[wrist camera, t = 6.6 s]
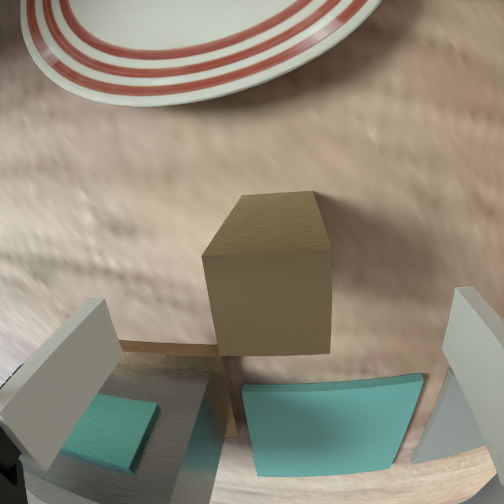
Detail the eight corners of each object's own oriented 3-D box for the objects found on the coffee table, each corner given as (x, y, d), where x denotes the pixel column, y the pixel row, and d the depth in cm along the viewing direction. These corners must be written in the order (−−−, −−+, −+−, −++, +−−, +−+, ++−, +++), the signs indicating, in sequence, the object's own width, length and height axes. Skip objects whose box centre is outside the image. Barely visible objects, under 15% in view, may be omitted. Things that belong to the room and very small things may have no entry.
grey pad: (410, 458, 30) (412, 464, 29) (448, 368, 24) (452, 375, 23) (508, 431, 27) (511, 435, 27) (556, 340, 22) (560, 345, 21)
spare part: (249, 260, 22) (220, 355, 13) (242, 195, 20) (201, 255, 11) (315, 257, 21) (329, 353, 12) (312, 191, 20) (332, 249, 11)
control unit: (93, 407, 32) (38, 501, 18) (56, 333, 28) (-30, 432, 14) (240, 426, 29) (214, 559, 15) (224, 345, 25) (172, 516, 11)
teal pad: (258, 469, 32) (257, 476, 32) (243, 384, 27) (241, 392, 26) (388, 462, 30) (389, 468, 29) (420, 373, 24) (423, 380, 23)
